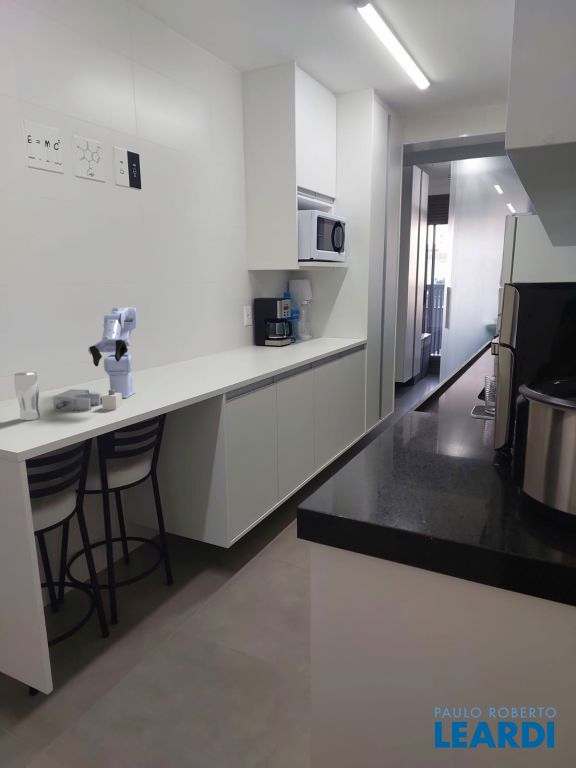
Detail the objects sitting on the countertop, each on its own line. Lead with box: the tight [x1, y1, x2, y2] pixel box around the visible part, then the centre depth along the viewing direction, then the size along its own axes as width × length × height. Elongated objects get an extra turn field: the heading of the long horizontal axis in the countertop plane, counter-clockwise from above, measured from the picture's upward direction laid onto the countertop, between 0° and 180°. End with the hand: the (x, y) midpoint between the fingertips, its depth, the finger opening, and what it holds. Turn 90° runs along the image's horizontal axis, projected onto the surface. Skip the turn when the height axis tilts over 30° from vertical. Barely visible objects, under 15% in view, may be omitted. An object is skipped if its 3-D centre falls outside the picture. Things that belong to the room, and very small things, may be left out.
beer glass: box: [13, 371, 41, 422], centre depth 165 cm, size 7×7×15 cm
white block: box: [101, 389, 123, 411], centre depth 179 cm, size 5×5×6 cm
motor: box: [52, 388, 102, 412], centre depth 179 cm, size 15×12×5 cm
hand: (106, 362), depth 174 cm, fingers open, 7 cm apart
